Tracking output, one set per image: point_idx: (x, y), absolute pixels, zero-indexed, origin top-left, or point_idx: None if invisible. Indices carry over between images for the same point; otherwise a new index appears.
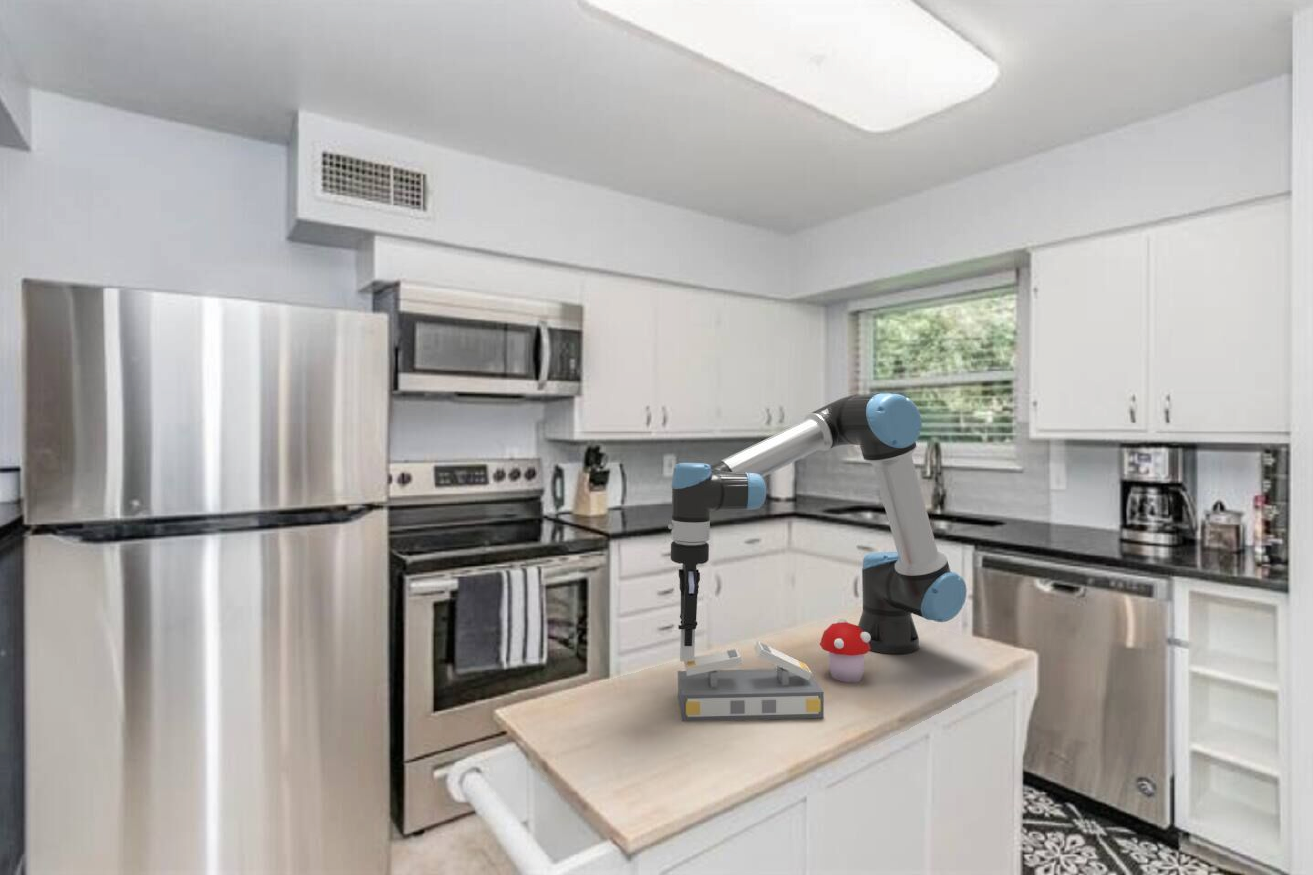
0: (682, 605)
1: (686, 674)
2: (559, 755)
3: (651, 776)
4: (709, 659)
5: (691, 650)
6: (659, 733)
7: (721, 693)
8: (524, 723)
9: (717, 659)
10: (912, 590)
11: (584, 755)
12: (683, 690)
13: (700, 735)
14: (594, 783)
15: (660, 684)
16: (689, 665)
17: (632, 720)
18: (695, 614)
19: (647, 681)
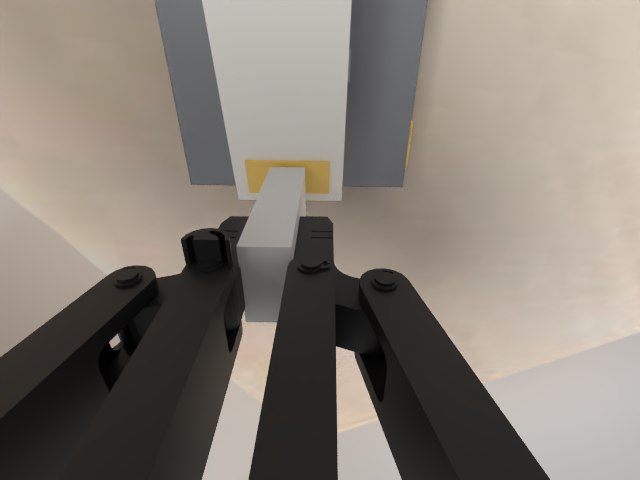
0: (206, 454)
1: (219, 157)
2: (483, 369)
3: (629, 238)
4: (297, 91)
5: (302, 201)
6: (444, 215)
7: (415, 34)
8: (355, 414)
9: (317, 47)
10: None
11: (496, 339)
12: (364, 179)
13: (484, 113)
14: (602, 324)
15: (144, 199)
16: (329, 186)
17: (366, 267)
18: (467, 376)
19: (130, 231)
